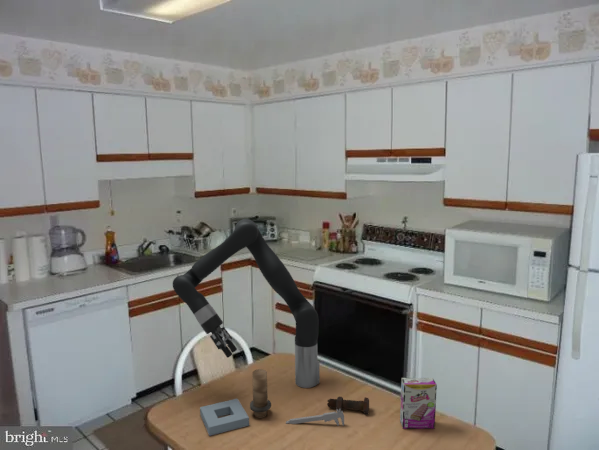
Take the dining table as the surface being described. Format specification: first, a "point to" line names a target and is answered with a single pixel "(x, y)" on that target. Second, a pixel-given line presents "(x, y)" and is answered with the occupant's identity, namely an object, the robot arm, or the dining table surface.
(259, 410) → the peg
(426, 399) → the candy bar box
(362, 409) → the bolt
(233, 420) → the board
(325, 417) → the caliper
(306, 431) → the dining table surface
